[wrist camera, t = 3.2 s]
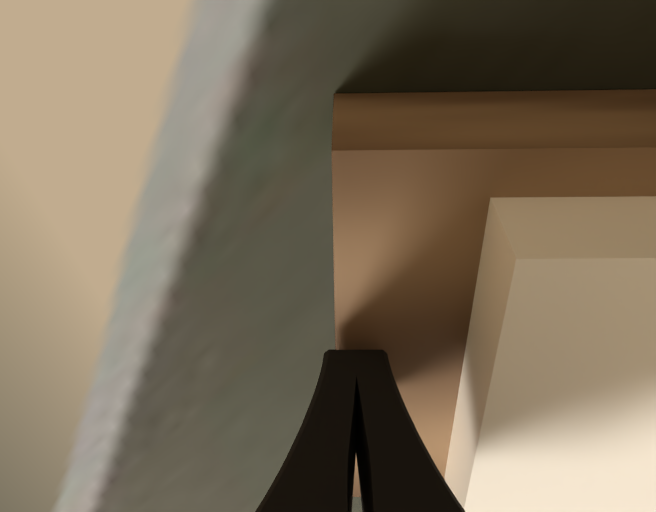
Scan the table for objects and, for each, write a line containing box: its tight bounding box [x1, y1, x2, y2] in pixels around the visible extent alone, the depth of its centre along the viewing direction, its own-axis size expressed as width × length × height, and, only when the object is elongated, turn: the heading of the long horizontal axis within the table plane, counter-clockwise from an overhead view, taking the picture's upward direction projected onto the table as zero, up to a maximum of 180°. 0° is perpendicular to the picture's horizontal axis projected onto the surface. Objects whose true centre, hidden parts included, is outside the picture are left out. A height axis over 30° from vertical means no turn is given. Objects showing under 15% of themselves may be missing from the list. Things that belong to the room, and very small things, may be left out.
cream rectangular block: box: [444, 196, 656, 512], centre depth 13 cm, size 9×6×2 cm, turn 1°
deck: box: [332, 89, 656, 497], centre depth 15 cm, size 11×14×3 cm
